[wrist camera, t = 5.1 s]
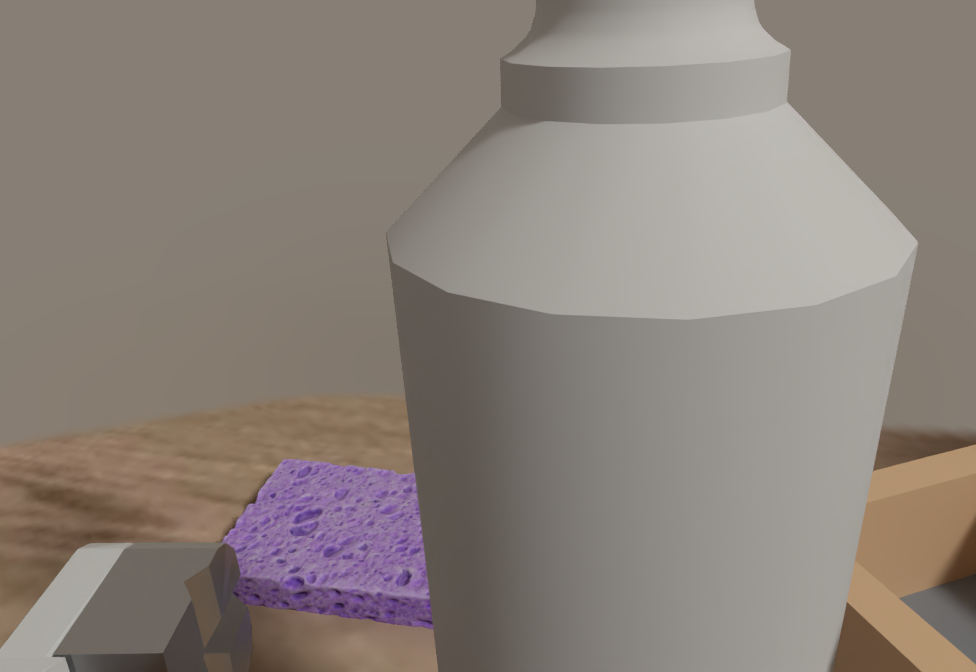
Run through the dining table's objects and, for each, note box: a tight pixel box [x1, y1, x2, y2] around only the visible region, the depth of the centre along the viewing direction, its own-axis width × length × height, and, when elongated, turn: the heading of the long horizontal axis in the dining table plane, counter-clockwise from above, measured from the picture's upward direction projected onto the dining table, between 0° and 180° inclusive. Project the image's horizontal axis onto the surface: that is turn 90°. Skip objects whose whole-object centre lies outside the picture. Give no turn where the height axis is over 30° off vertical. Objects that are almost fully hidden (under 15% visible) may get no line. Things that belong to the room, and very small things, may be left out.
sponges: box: [221, 459, 433, 629], centre depth 29 cm, size 7×13×2 cm, turn 78°
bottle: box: [386, 0, 918, 672], centre depth 10 cm, size 5×5×25 cm
